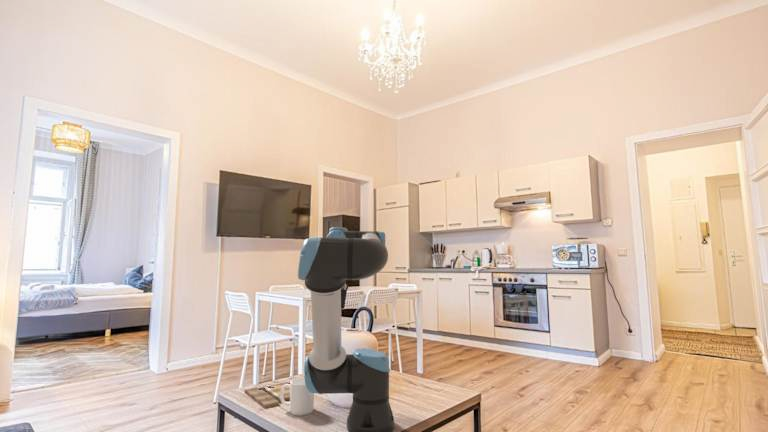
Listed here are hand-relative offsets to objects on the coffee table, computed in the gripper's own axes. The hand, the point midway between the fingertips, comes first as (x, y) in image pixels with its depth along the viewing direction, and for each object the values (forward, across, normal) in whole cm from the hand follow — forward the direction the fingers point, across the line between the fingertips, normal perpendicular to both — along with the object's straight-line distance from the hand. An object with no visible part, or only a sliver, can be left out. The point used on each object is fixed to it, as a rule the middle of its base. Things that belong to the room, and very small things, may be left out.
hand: (336, 326), depth 154 cm
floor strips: (+26, +15, +23) cm, 38 cm away
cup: (+27, -4, +18) cm, 32 cm away
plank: (+26, +15, +15) cm, 34 cm away
